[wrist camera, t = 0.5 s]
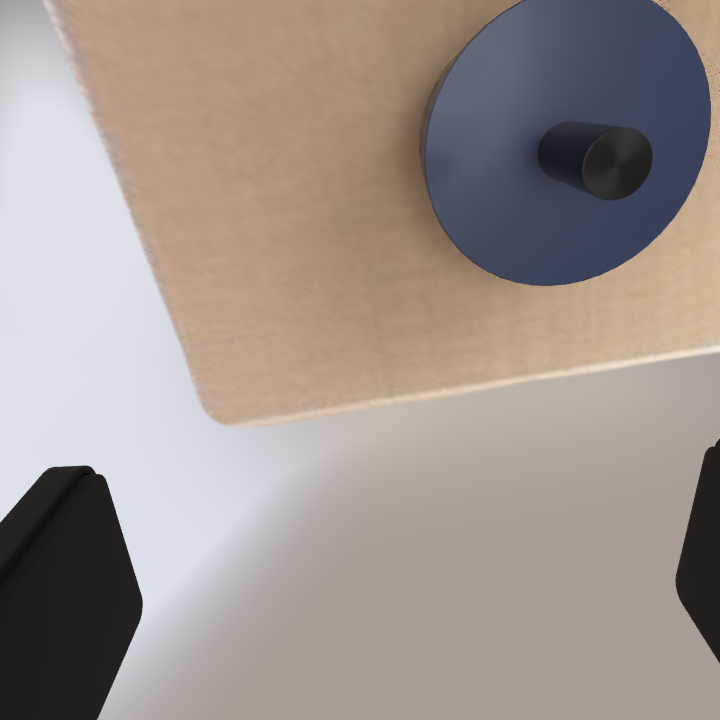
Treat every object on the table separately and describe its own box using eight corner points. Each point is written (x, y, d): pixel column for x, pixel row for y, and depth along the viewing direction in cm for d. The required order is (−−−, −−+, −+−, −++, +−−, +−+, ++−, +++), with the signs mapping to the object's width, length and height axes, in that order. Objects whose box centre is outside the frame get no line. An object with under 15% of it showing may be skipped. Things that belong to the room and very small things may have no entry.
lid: (553, -86, 23) (625, -156, 17) (757, 114, 27) (883, 119, 20) (368, 182, 28) (369, 207, 22) (561, 325, 31) (611, 384, 25)
